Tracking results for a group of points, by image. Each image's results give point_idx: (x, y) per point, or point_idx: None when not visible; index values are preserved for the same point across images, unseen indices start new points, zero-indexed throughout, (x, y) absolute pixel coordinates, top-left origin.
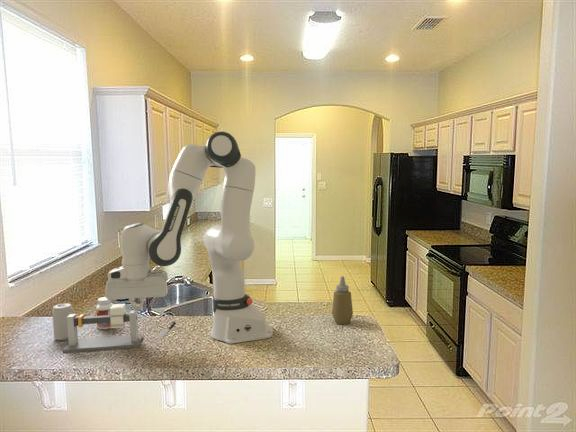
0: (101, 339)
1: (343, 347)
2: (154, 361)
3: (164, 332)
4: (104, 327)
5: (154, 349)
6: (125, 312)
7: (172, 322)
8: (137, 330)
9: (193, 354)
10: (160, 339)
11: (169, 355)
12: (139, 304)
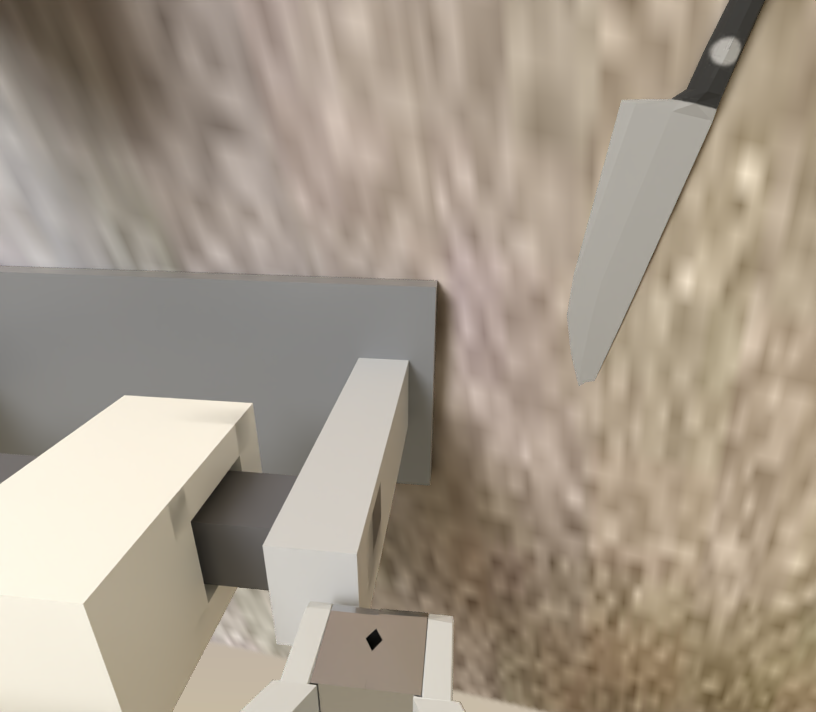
0: (107, 327)
1: None
2: (554, 662)
3: (643, 210)
4: None
5: (549, 526)
6: (186, 496)
7: None
8: (398, 422)
9: (802, 647)
10: (595, 367)
11: (646, 623)
12: (394, 703)
